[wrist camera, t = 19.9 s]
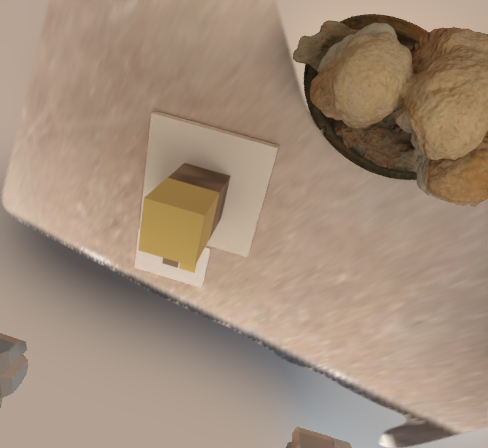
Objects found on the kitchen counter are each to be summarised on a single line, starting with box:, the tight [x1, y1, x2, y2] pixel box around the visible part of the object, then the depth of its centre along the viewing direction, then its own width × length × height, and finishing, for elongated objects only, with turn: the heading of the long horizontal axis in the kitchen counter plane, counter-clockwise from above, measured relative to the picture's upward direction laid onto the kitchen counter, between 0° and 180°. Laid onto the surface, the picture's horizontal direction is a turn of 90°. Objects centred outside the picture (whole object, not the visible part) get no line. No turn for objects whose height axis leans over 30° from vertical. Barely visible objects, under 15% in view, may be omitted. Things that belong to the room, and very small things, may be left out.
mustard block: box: [138, 178, 219, 267], centre depth 31 cm, size 5×5×5 cm
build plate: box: [139, 111, 279, 257], centre depth 39 cm, size 13×13×1 cm
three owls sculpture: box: [293, 14, 488, 206], centre depth 25 cm, size 18×12×17 cm, turn 58°
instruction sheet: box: [135, 227, 211, 288], centre depth 44 cm, size 9×6×1 cm, turn 77°
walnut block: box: [168, 163, 231, 240], centre depth 36 cm, size 5×5×5 cm
